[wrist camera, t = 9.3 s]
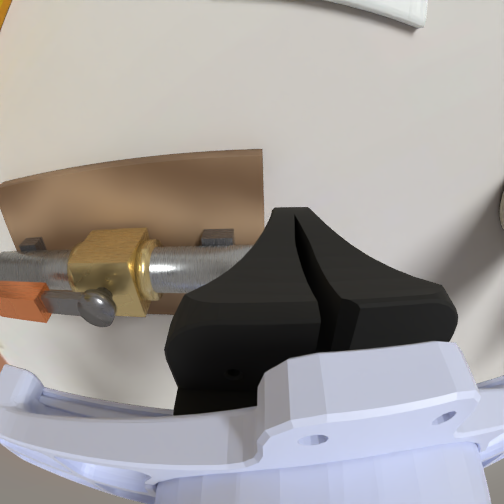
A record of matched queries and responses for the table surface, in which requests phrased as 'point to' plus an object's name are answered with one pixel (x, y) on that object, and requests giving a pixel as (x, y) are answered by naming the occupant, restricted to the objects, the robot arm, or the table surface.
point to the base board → (141, 202)
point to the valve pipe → (125, 265)
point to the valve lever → (55, 303)
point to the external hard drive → (393, 9)
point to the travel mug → (502, 211)
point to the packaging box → (3, 10)
